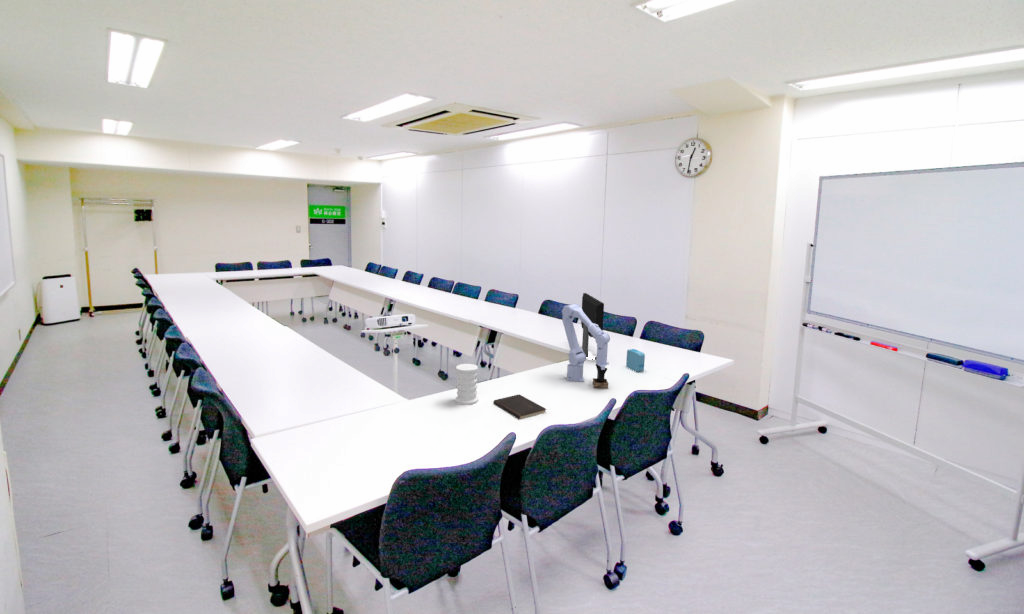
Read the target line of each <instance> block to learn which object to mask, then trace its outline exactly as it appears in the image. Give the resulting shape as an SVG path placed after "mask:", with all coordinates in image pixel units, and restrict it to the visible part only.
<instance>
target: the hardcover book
mask: <svg viewBox="0 0 1024 614" xmlns="http://www.w3.org/2000/svg"><path fill="white" fill-rule="evenodd" d="M492 404H493V405H495V406H497V407H498V408H500V409H502V410H503V411H505V412H506V413H509V415H511V416H512V417H514V416H515V417H514V418H516V419H518V420H519V419H520V420H522V418H523V419H526V418H529V416H530V417H533V415H534V416H537V415H541V414H544V412H545V413H546V410H547V409H546V408H545V407H543V406H541V405H539V404H537V402H534V401H532V400H530V399H529V398H527V397H526V396H523V395H522V394H514V395H511V396H506V397H502V398H499V399H498V398H497V399H494V400H493V402H492ZM540 413H541V414H540ZM536 414H537V415H536ZM525 417H526V418H525Z"/></svg>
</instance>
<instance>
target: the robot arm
mask: <svg viewBox="0 0 1024 614" xmlns="http://www.w3.org/2000/svg"><path fill="white" fill-rule="evenodd" d="M561 314H562V317H561V318H562V324H563V327H564V331H565V335H566V339H567V343H568V345H569V349H570V350H569V352H568V362H569V363H568V364H566V365H567V368H566V370H567V371H566V380H567V382H585V379H584V364H585V362H586V361H587V360H586V355H585V354H584V352H583V349H582V347H580V343H579V341H578V337H577V333H576V329H575V325H574V322H573V321H574V319H575V318H577V319H579V320H580V322H581V321H582V322H583V323H584V324H585V325H586V326H587V327H588V331H589V332H590V333H591V334H592V335H593V337H594V338H593V337H592V338H593V339H595V344H596V357H597V359H596V362H595V366H596V371H598V373H599V380H603V379H605V376H604V375H605V374H606V372H607V371H608V367H606V366H607V365H609V364H610V362H608V346H609V343H610V341H611V337H610V334H608V333H607V332H605V331H602V330H601V329H600V328H599V327H598V325H597V324H595V323H592V322H591V321H590V320H589V318H588V317H587V316H586V315H585V313H584V312H583V310H582V306H580V305H579V303H573V304H570V305H564V306H563V308H562V310H561Z"/></svg>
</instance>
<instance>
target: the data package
mask: <svg viewBox="0 0 1024 614" xmlns="http://www.w3.org/2000/svg"><path fill="white" fill-rule="evenodd" d="M645 359H646V355H645V353H644V352H643V351H640V350H638V349H635V348H631V349H627V351H626V365H625V366H626V368H627V367H628V368H627V369H629V368H630V369H629V370H631V369H632V370H631V371H633V370H634V371H633V372H635V371H637V372H636V373H641V372H640V371H642V372H644V370H645Z"/></svg>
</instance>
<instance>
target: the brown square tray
mask: <svg viewBox="0 0 1024 614" xmlns="http://www.w3.org/2000/svg"><path fill="white" fill-rule="evenodd" d="M592 385H594V386H593V388H594V389H609V382H608V379H607V378H604V382H603V383H599V382H597V377H596V378H594V377H593V378H592Z"/></svg>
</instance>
